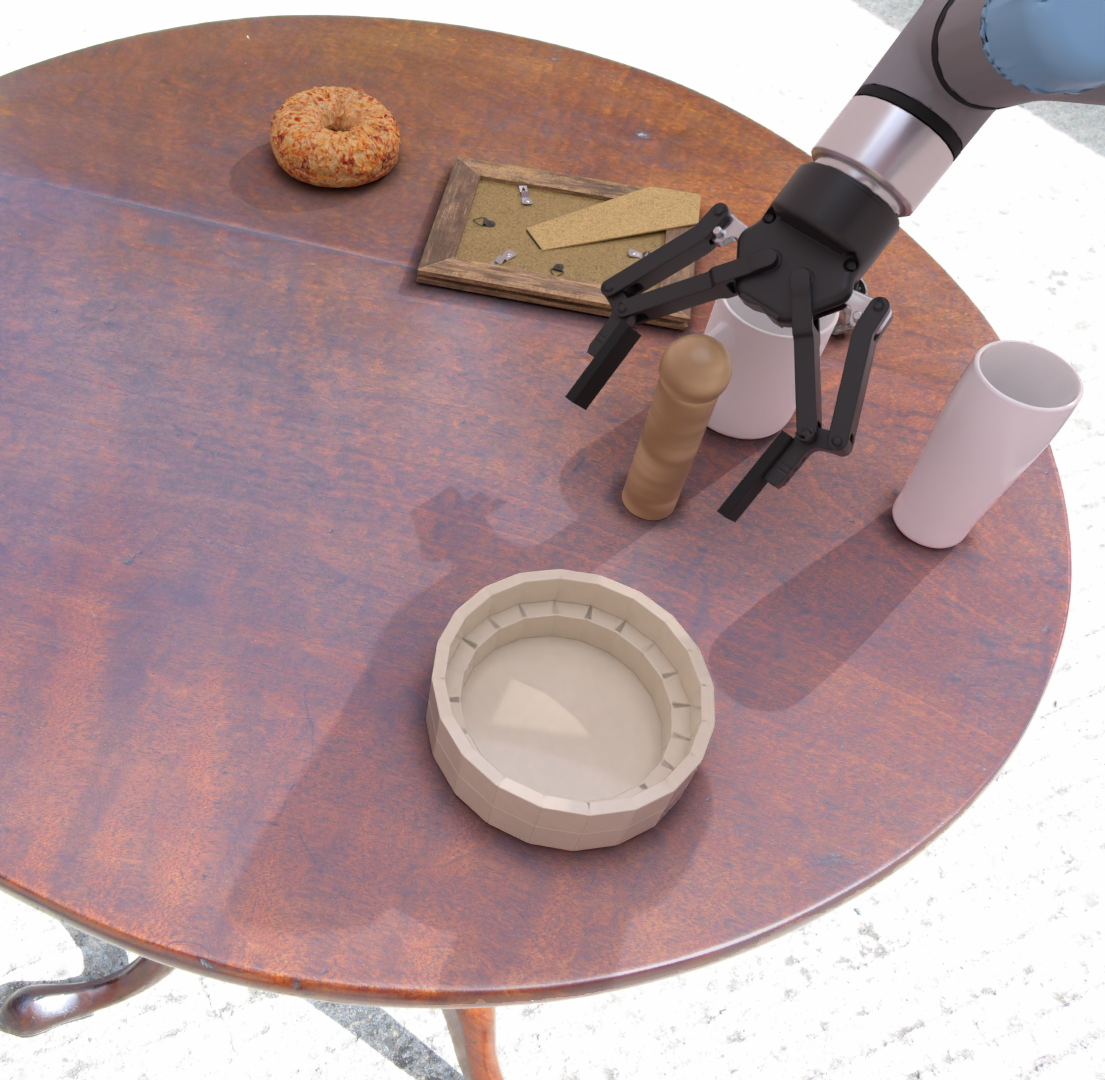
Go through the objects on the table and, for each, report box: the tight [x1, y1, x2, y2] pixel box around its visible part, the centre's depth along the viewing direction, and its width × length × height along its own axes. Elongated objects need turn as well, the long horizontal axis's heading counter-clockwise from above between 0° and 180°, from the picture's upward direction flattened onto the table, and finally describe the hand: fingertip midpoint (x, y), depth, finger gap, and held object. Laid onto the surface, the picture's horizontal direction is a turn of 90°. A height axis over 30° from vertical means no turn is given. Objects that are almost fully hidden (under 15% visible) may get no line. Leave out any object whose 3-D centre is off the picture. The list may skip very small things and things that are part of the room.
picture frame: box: [416, 155, 702, 331], centre depth 98 cm, size 19×2×24 cm
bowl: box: [425, 568, 716, 852], centre depth 65 cm, size 17×17×6 cm
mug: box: [703, 296, 840, 440], centre depth 82 cm, size 9×12×11 cm
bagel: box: [269, 85, 402, 189], centre depth 104 cm, size 13×14×5 cm
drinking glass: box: [891, 339, 1084, 549], centre depth 73 cm, size 7×7×15 cm
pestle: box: [621, 333, 732, 521], centre depth 74 cm, size 5×5×15 cm
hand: (647, 458), depth 74 cm, fingers open, 13 cm apart
